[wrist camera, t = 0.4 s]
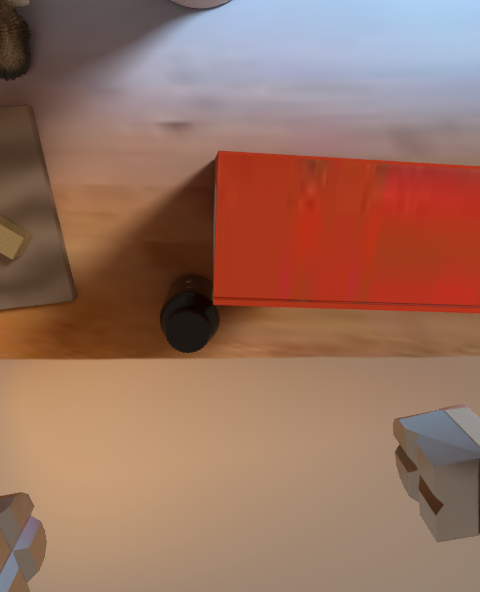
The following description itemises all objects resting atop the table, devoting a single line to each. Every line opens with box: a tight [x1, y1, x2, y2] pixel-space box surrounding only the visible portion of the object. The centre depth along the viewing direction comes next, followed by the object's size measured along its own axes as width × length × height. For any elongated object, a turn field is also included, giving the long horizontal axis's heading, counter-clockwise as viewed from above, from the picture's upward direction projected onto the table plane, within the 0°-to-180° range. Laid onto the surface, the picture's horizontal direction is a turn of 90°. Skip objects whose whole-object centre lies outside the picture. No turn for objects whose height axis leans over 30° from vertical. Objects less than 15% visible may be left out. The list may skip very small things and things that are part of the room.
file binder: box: [213, 151, 480, 313], centre depth 36 cm, size 8×17×32 cm, turn 87°
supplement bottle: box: [160, 275, 220, 353], centre depth 49 cm, size 7×7×12 cm
